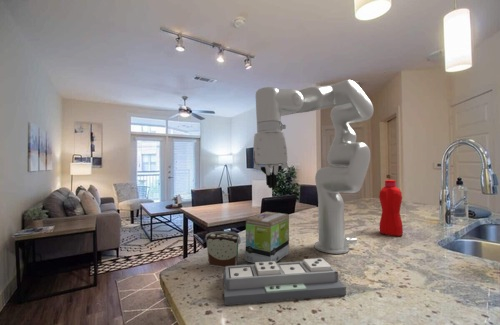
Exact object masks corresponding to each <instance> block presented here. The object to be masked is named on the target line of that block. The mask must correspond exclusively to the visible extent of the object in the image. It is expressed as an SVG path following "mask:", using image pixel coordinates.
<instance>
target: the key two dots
mask: <svg viewBox="0 0 500 325" xmlns="http://www.w3.org/2000/svg"><path fill="white" fill-rule="evenodd" d="M250 276H253V275H252V271H251V268H250V267H245V268H230V278H236V277H250Z"/></svg>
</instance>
